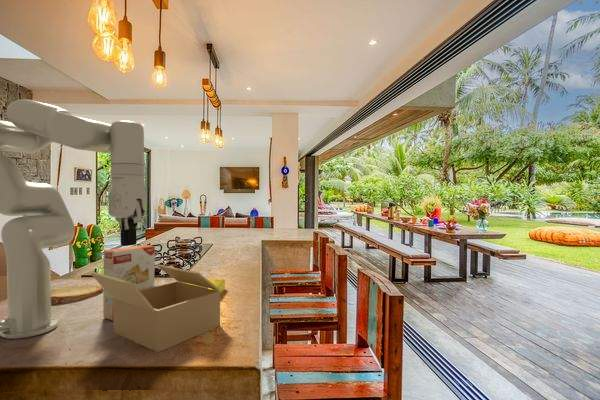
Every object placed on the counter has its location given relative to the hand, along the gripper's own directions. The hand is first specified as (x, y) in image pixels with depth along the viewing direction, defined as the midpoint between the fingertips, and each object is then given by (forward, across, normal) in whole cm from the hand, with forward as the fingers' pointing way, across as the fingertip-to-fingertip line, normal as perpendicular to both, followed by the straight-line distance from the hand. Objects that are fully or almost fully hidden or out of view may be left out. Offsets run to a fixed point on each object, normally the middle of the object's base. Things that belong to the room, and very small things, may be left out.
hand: (128, 244), depth 87 cm
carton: (+25, 0, +11) cm, 28 cm away
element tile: (+26, -20, +39) cm, 51 cm away
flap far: (+12, -1, +18) cm, 21 cm away
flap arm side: (+11, 0, -2) cm, 11 cm away
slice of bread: (+26, -55, +8) cm, 61 cm away
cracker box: (+25, -22, +12) cm, 35 cm away
